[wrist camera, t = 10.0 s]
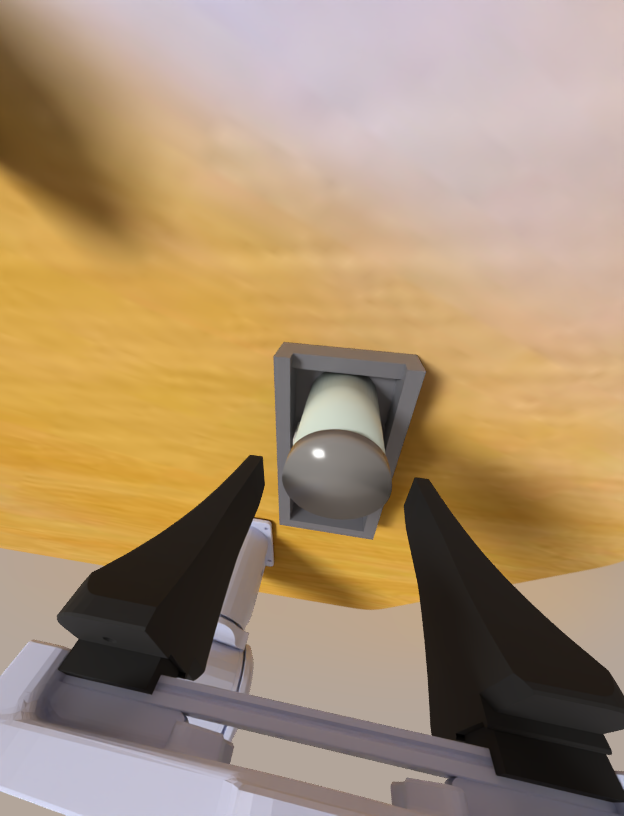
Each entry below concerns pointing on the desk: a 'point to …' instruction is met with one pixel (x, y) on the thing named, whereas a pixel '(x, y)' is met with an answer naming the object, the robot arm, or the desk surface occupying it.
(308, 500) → the jar
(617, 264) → the desk surface
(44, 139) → the desk surface
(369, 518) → the pusher lane
